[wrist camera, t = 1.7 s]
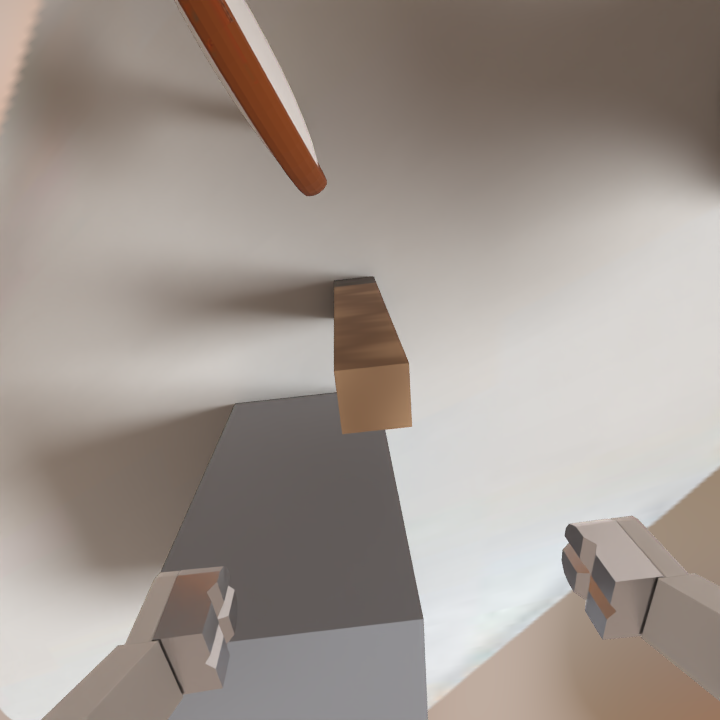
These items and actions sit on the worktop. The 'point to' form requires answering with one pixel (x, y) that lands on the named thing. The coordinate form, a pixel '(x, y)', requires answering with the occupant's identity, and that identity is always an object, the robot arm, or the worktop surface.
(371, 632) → the grey tissue box
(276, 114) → the magnifying glass
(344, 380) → the long brown rectangular block
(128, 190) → the worktop surface
